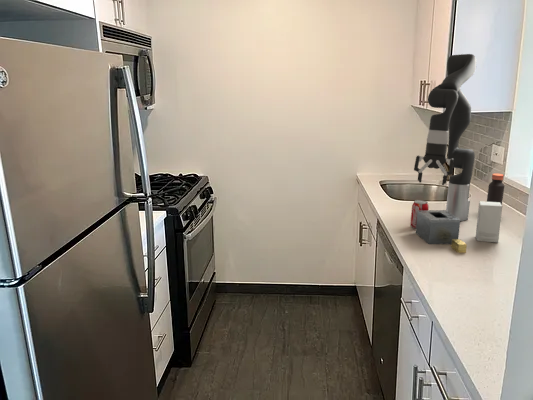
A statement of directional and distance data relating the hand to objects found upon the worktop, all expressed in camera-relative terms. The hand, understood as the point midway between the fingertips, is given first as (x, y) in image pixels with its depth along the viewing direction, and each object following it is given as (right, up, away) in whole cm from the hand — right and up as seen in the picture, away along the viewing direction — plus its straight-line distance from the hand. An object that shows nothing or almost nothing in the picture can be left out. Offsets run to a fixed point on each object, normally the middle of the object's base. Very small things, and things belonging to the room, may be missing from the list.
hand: (431, 183), depth 182 cm
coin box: (+6, -22, +11) cm, 25 cm away
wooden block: (+10, -26, -3) cm, 28 cm away
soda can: (+3, -19, +24) cm, 31 cm away
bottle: (+46, -14, +44) cm, 65 cm away
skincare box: (+26, -23, +9) cm, 36 cm away
